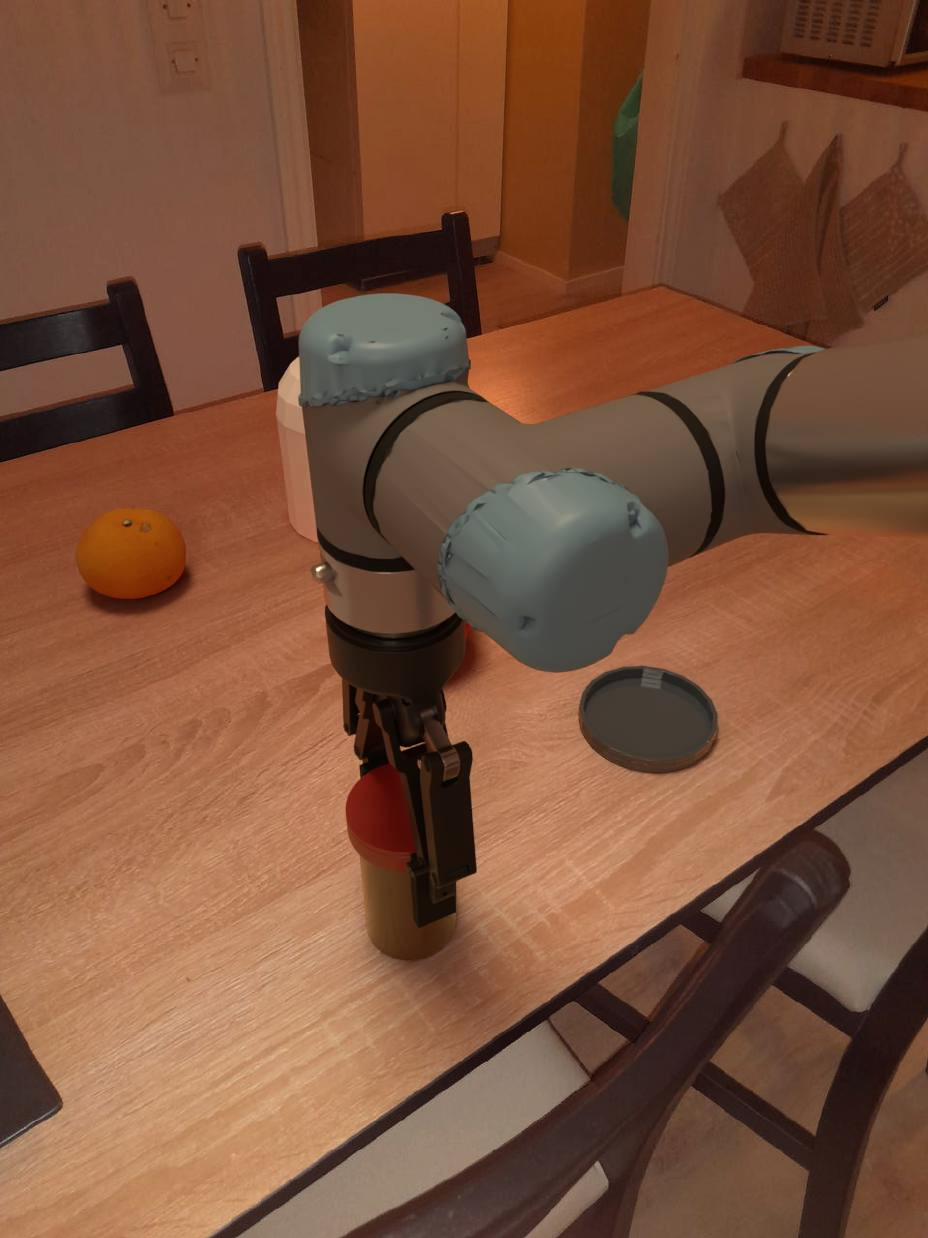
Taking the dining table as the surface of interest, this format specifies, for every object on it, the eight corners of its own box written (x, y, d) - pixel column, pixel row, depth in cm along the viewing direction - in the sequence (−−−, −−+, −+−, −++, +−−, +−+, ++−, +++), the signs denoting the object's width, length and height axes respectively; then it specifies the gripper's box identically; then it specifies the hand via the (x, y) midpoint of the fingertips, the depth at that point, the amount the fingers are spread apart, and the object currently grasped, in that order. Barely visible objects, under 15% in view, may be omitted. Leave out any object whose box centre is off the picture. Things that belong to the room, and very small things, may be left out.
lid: (421, 891, 58) (421, 873, 57) (323, 837, 61) (320, 819, 60) (487, 809, 63) (487, 791, 62) (392, 763, 66) (391, 745, 65)
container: (395, 549, 106) (387, 378, 94) (275, 542, 107) (252, 372, 95) (412, 487, 116) (407, 325, 104) (303, 481, 117) (285, 320, 105)
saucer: (742, 749, 82) (745, 736, 81) (621, 789, 79) (623, 776, 78) (667, 665, 91) (669, 653, 90) (555, 698, 87) (556, 685, 86)
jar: (474, 923, 69) (476, 816, 62) (405, 978, 65) (399, 872, 58) (416, 868, 72) (411, 762, 65) (348, 918, 69) (335, 811, 62)
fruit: (157, 623, 96) (141, 556, 91) (66, 603, 98) (45, 537, 93) (210, 565, 103) (198, 501, 98) (124, 548, 106) (108, 485, 101)
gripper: (267, 522, 57) (305, 786, 71) (409, 745, 43) (421, 1020, 57) (384, 493, 60) (398, 752, 74) (555, 694, 45) (532, 968, 59)
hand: (408, 868), depth 65 cm, fingers closed on lid, 7 cm apart
